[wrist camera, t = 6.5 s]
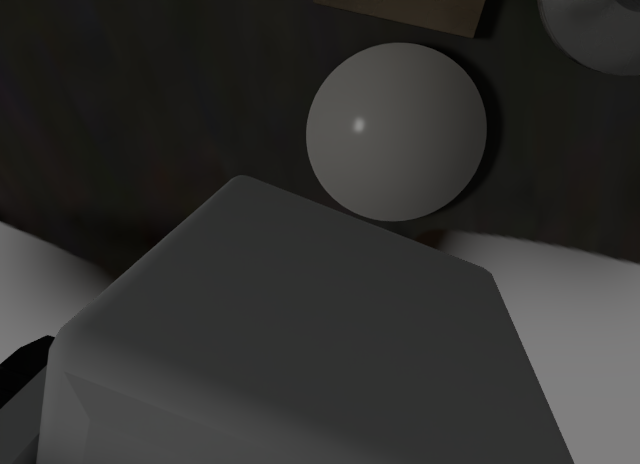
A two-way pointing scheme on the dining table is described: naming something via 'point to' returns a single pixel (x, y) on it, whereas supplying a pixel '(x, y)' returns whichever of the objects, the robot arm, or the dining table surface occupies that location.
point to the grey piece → (294, 350)
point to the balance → (556, 14)
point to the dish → (396, 131)
